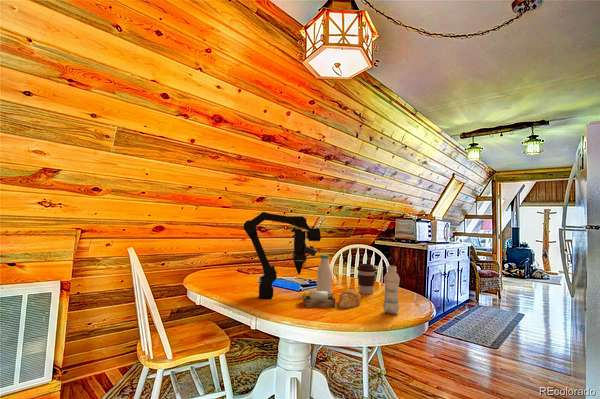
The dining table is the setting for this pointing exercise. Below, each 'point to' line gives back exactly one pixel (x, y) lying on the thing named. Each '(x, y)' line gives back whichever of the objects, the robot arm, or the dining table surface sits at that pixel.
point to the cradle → (318, 302)
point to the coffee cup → (366, 278)
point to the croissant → (349, 299)
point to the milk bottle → (324, 275)
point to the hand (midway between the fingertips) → (298, 272)
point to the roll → (318, 295)
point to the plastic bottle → (391, 291)
